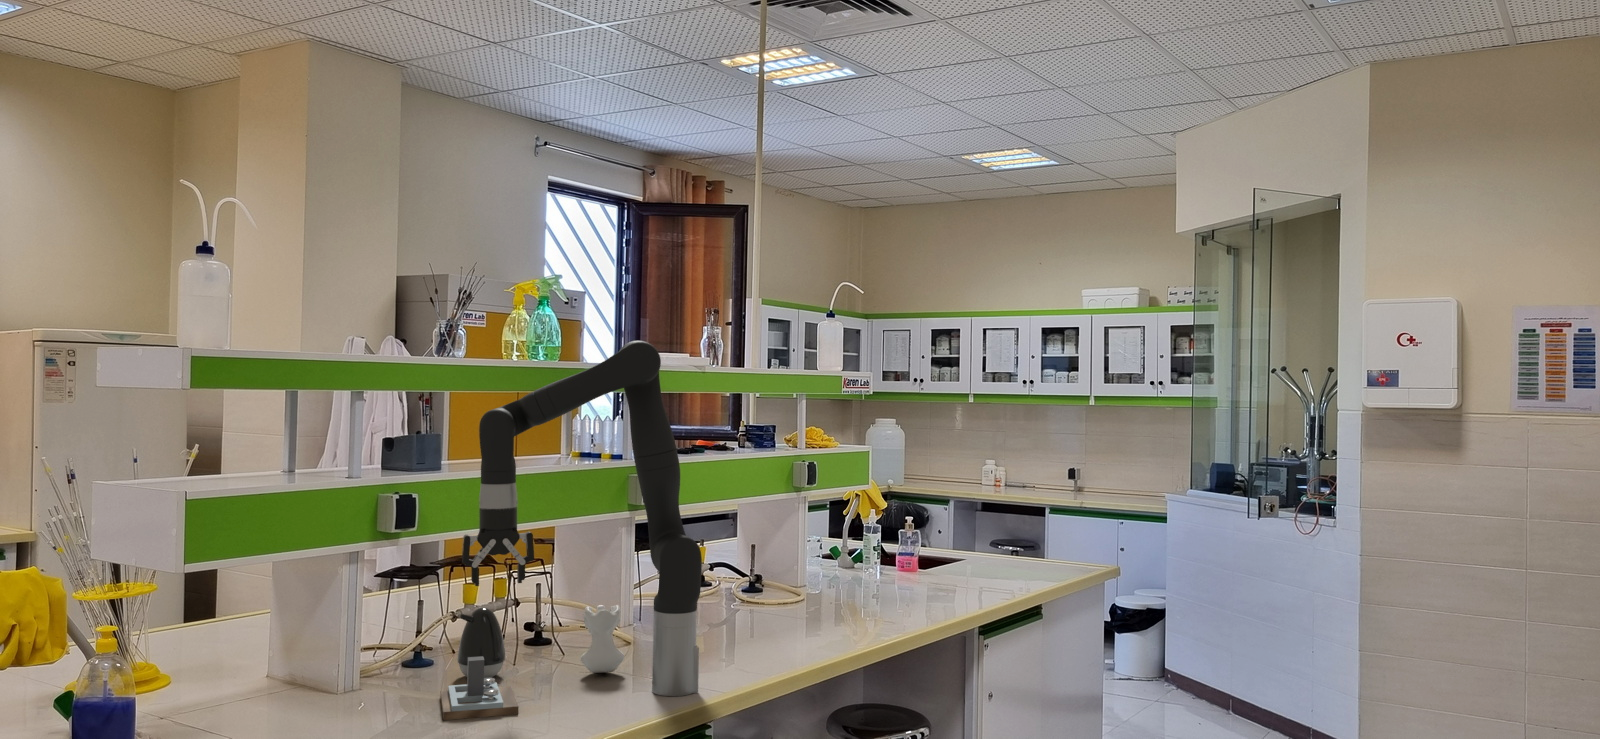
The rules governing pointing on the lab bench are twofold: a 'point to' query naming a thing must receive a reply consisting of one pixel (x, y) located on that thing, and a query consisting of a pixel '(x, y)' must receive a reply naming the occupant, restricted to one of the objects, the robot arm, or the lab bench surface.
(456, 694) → the keyhole panel
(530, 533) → the robot arm
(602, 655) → the white scalloped vase
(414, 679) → the lab bench surface
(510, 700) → the walnut board
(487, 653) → the pump dispenser
